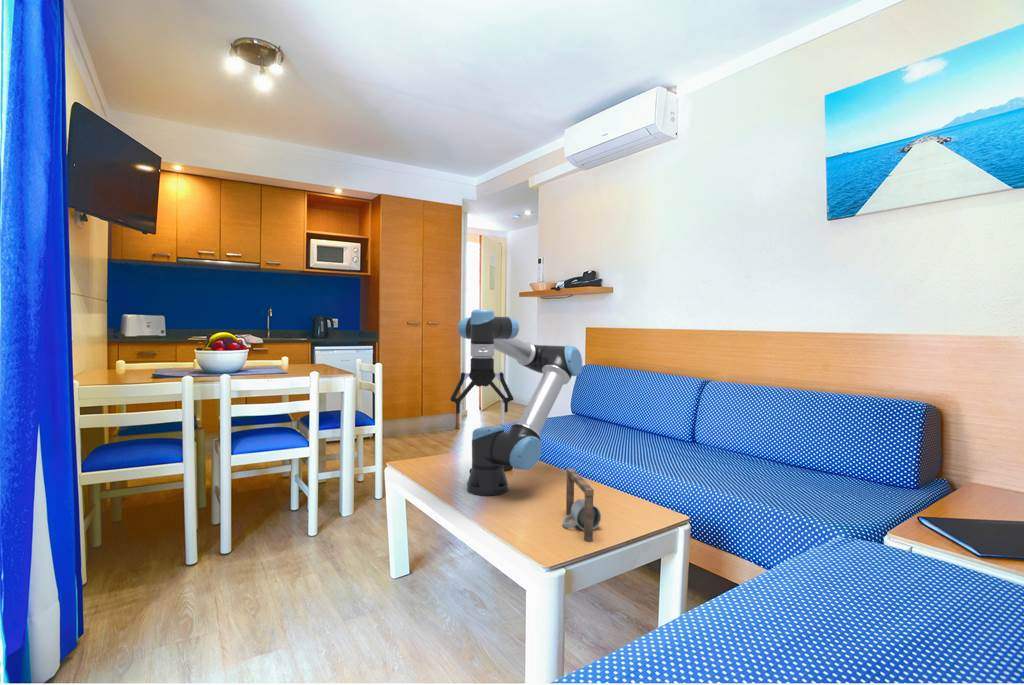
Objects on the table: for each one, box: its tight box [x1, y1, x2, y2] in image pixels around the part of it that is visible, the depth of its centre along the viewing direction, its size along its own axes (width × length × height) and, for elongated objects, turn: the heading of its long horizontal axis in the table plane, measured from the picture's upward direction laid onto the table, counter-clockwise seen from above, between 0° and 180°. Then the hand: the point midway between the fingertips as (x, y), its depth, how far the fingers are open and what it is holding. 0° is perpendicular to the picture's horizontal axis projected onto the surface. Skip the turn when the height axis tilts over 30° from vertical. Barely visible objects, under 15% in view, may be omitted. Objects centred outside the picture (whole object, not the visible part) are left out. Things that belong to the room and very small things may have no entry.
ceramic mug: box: [561, 498, 602, 531], centre depth 147 cm, size 11×8×8 cm
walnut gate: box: [565, 467, 595, 543], centre depth 146 cm, size 22×2×14 cm, turn 8°
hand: (481, 423), depth 158 cm, fingers open, 13 cm apart
